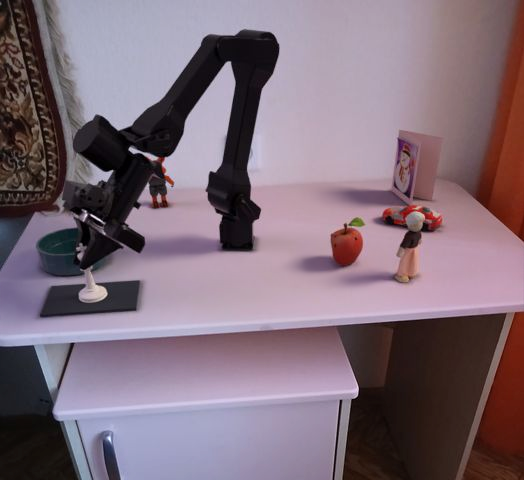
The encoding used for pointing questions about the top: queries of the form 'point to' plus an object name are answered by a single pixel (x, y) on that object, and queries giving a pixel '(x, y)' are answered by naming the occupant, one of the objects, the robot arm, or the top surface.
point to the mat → (117, 299)
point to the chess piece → (90, 284)
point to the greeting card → (416, 165)
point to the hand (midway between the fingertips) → (78, 266)
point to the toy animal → (159, 187)
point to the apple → (347, 243)
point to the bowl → (61, 252)
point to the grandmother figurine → (410, 247)
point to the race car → (400, 213)
